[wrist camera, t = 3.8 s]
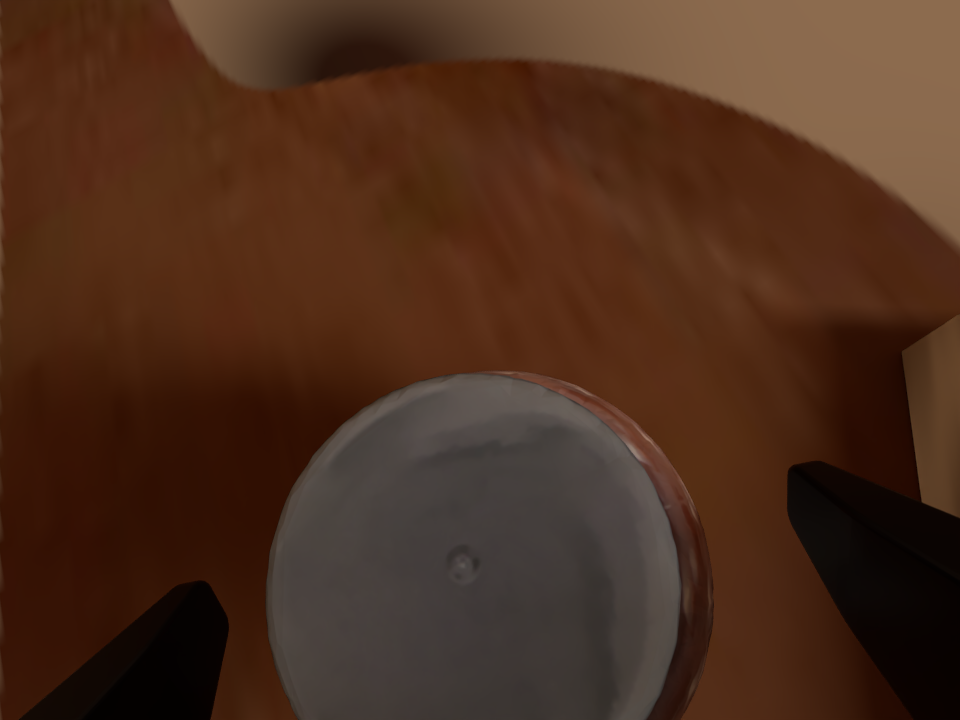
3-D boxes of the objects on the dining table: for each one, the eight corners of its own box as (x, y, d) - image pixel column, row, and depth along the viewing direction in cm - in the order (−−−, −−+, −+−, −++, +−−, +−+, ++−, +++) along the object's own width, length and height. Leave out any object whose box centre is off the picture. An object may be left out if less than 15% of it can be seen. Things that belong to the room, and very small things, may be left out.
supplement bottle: (386, 521, 17) (96, 435, 6) (563, 425, 17) (573, 187, 7) (479, 736, 15) (275, 1160, 4) (680, 621, 15) (975, 734, 4)
